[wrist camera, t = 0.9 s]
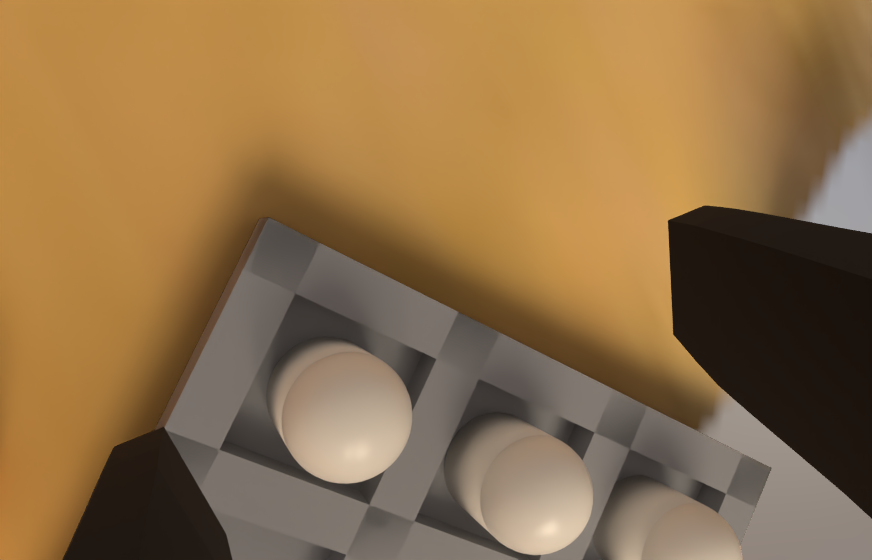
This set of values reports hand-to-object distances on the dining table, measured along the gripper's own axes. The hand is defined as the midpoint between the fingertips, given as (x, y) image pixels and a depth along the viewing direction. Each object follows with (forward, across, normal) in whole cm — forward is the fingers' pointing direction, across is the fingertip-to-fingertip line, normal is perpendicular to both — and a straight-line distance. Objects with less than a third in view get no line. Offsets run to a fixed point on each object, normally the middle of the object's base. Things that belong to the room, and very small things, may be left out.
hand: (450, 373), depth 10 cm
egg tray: (+13, -1, +20) cm, 24 cm away
